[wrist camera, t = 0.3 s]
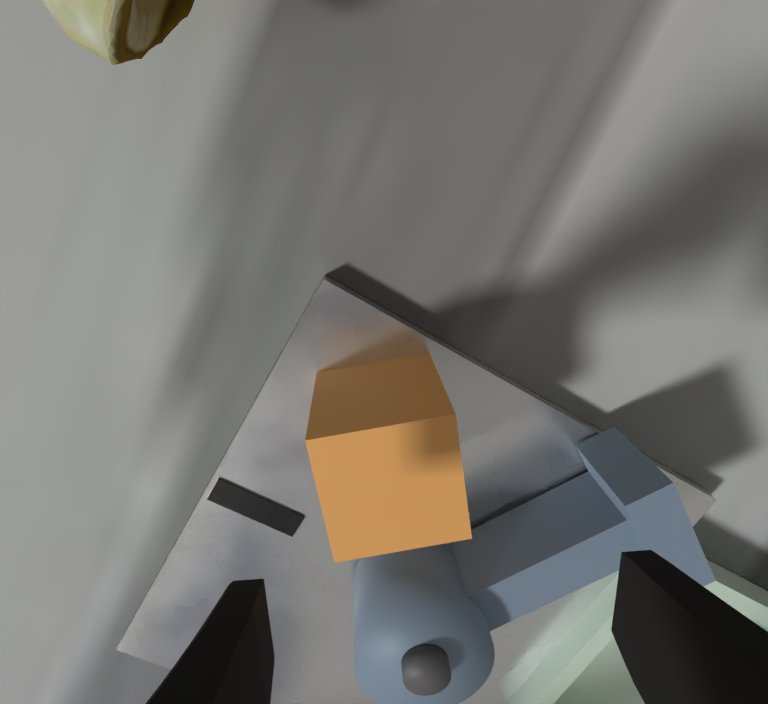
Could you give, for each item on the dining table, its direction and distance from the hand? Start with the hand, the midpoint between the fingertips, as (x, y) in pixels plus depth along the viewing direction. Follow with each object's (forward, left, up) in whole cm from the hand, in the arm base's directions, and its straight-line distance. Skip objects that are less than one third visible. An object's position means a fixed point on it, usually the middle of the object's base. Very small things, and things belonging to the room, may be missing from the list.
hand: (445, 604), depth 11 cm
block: (0, +1, -9) cm, 9 cm away
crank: (-3, -6, -9) cm, 11 cm away
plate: (-6, -4, -10) cm, 12 cm away
